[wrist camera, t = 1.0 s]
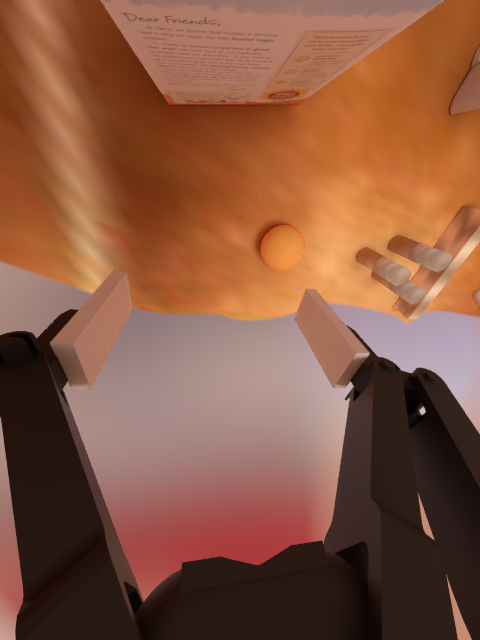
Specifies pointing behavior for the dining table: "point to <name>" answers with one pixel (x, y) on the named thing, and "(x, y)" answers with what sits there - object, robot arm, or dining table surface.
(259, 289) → the dining table surface
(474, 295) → the pizza slice
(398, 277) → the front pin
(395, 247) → the pin
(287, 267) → the ball
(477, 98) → the tall pale column
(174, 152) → the dining table surface
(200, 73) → the cracker box
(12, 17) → the dining table surface
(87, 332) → the robot arm
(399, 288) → the pin
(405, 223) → the dining table surface
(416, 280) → the back wall
